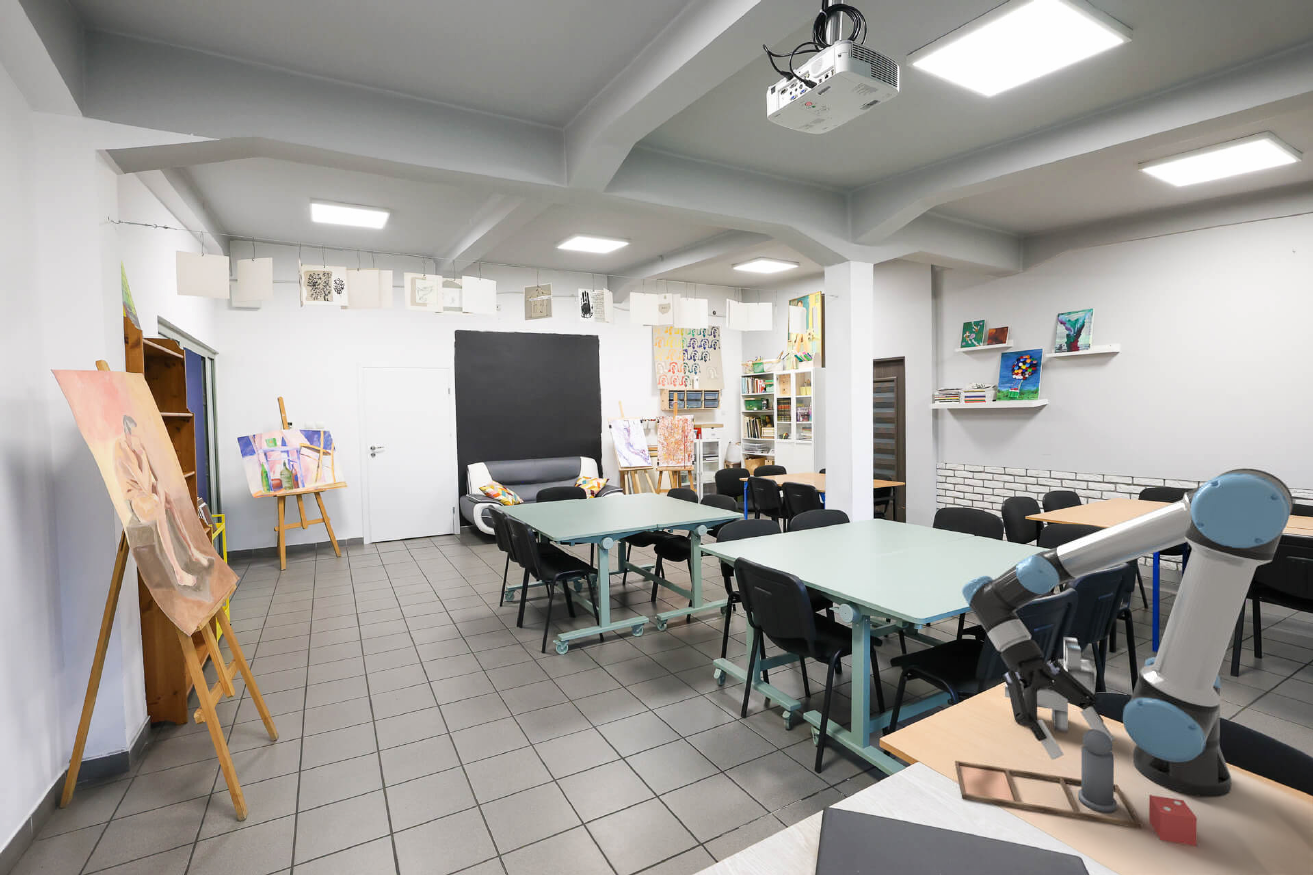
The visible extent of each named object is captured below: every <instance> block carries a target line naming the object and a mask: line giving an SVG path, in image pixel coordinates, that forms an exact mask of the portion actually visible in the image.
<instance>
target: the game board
mask: <svg viewBox="0 0 1313 875" xmlns="http://www.w3.org/2000/svg"><path fill="white" fill-rule="evenodd" d="M954 766H955V771H956V774H957V780H958V783H959V784H958V785H959V789H960V795H961V798H962V799H963V800H964V799H965V800H968V801H969V800H970V801H975V802H981V803H988V804H993V805H999V806H1006V807H1012V808H1015V809H1016V808H1017V809H1024V810H1030V811H1035V812H1036V811H1037V812H1042V813H1046V814H1047V813H1048V814H1054V815H1059V816H1065V817H1072V818H1078V819H1083V820H1089V821H1095V822H1101V823H1106V824H1113V825H1120V826H1124V827H1131V828H1137V829H1142V823H1141V821H1140V819H1139V817H1138V816H1137V815H1136V813H1135V810H1133V808H1132V806H1131V805H1130V803H1129V801H1128V800H1127V798H1126V797H1125V795H1124V793H1123V792H1122V790H1121V789H1120V786H1119V785H1118V784H1115V783H1114V791H1115V793H1116V794H1117V796H1118V798H1119V800H1120V801H1121V803H1122V804H1123V806H1124V808H1125V810H1126V812H1127V813H1128V815H1129V816H1130V818H1131V819H1132V820H1131V819H1124V818H1118V817H1113V816H1112V817H1111V816H1105V815H1100V814H1096V813H1095V814H1093V813H1088V812H1081V811H1079V808H1078V806H1077V805H1076V802H1075V800H1074V798H1073V796H1072V794H1071V792H1070V790H1069V788H1068V786H1067V784H1072V785H1073V784H1074V785H1080V786H1081V779H1080V778H1074V777H1068V776H1061V775H1054V774H1053V775H1052V774H1049V773H1048V774H1047V773H1041V772H1034V771H1028V770H1027V771H1026V770H1020V769H1015V768H1014V769H1013V768H1008V767H1000V766H995V765H994V766H993V765H988V764H979V763H974V762H973V763H972V762H968V761H967V762H965V761H960V760H954ZM1011 775H1014V776H1020V777H1025V778H1026V777H1027V778H1033V779H1041V780H1045V781H1046V780H1048V781H1052V782H1053V781H1054V782H1059V783H1060V786H1061V788H1062V790H1063V792H1064V794H1065V796H1066V799H1067V800H1068V803H1069V805H1070V807H1071V809H1072V810H1070V809H1063V808H1057V807H1051V806H1046V805H1045V806H1044V805H1038V804H1033V803H1027V802H1021V801H1020V799H1019V796H1018V793H1017V790H1016V787H1015V785H1014V782H1013V779H1012V776H1011ZM1066 783H1067V784H1066Z"/></svg>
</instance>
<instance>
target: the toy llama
mask: <svg viewBox="0 0 1313 875" xmlns="http://www.w3.org/2000/svg"><path fill="white" fill-rule="evenodd" d="M1078 642H1079V641H1078V639H1077V638H1076V637H1068V636H1063V668H1064V669H1065V670H1066V671H1067V672H1068V673H1069V674H1071V675H1072V676H1073V677H1074V678H1075V679H1076V680H1078V681H1079V682H1080V683H1081V684H1082V685H1083V686H1085V687H1086V688H1087V689H1088V690H1089V691H1091V692H1092V693H1093V694H1094V695H1095V672H1094V669H1093V666H1092V665H1091V662H1090V660H1087V659H1082V649H1081V647H1080V645H1079V643H1078ZM1020 684H1021V688H1022V682H1020ZM1004 696H1005V698H1007V699H1008V698H1009V699H1010V695H1009V690H1008V686H1007V684H1006V682H1004ZM1023 696H1024V693H1023ZM1087 698H1089V697H1087ZM1068 703H1071V702H1070V701H1069V700H1067V699H1066V698H1064V697H1063V696H1061V695H1060V694H1058V693H1057V692H1055V691H1053V690H1049V689H1048V688H1047V689H1045V690H1039V691H1037V708H1042V709H1048V710H1051V719H1052V720H1051V721H1053V727H1054V731H1055V732H1060V733H1067V734H1068V732H1069V717H1068V716H1069V709H1068V708H1069V707H1068V706H1069V704H1068ZM1082 703H1083V702H1082ZM1017 725H1022V723H1017ZM1022 726H1023V725H1022ZM1026 727H1029V726H1028V725H1027V726H1026Z"/></svg>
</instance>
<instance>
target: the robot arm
mask: <svg viewBox="0 0 1313 875" xmlns="http://www.w3.org/2000/svg"><path fill="white" fill-rule="evenodd" d="M1293 507H1294V499H1293V495H1292V492H1291V491H1290V488H1289V487H1288V485H1287V484H1286V483H1285V482H1283V480H1282V479H1280V478H1279V477H1277V476H1276V475H1274V474H1271V473H1270V472H1268V471H1264V470H1261V469H1256V468H1236V469H1231V470H1228V471H1226V472H1225V471H1224V472H1223V473H1221V474H1219V475H1217V476H1215V477H1213V478H1211V479H1209V480H1208V481H1206V482H1205V483H1203V484H1202V485H1200V486H1199V487H1195V488H1194V489H1191V490H1189V491H1186V492H1184V494H1183V498H1182V499H1181V500H1178V501H1175V502H1172V503H1170V504H1167V505H1165V506H1162V507H1159V508H1157V509H1154V510H1151V511H1148V512H1145V513H1144V514H1140V515H1138V516H1136V517H1132V518H1130V519H1128V520H1125V521H1122V522H1119V523H1117V524H1113V525H1112V526H1109V527H1106V528H1104V529H1101V530H1098V531H1096V532H1093V533H1090V534H1087V535H1084V536H1082V537H1080V538H1077V539H1074V540H1072V541H1070V542H1067V543H1064V544H1061V545H1059V546H1058V547H1053V548H1051V549H1048V550H1043V551H1039V552H1037V553H1035V554H1032V555H1029V556H1028V557H1026V558H1023V559H1022V560H1020V561H1019V562H1017V564H1015V565H1014V566H1012V567H1011V568H1009V569H1008V570H1006V571H1005V572H1004V573H1002V574H1001V575H999V576H998V577H996V578H995V579H993V578H992V577H991V576H989V575H981V576H979V577H976V578H974V579H973V580H970V581H968V582H967V583H965V584H964V585H963V587H962V590H961V593H962V595H963V597H964V600H965V601H966V603H967V605H968V607H969V609H970V610H971V611H972V612H973V614H974V615H975V617H976V618H977V620H978V622H979V623H980V625H981V626H982V628H983V629H984V631H985V633H986V635H987V636H988V638H989V639H990V641H991V643H992V644H993V646H994V647H995V649H996V650H997V651H998V652H999V653H1000V657H1001V659H1002V661H1003V662H1004V663H1005V665H1006V668H1008V670H1009V671H1008V672H1006V673H1005V674H1003V676H1002V677H1003V680H1004V683H1006V684H1007V686H1008V690H1009V695H1010V698H1009V699H1010V704H1011V708H1012V714H1013V716H1014V721H1015V722H1016V723H1017V724H1018V723H1022V726H1023V727H1028V728H1029V729H1030V731H1031V733H1032V734H1033V736H1034V738H1035V739H1036V740H1037V741H1038V742H1040V743H1041V745H1042V746H1043V748H1044V750H1045V751H1046V753H1047V754H1048V756H1049V759H1051V761H1052V760H1056V759H1058V758H1060V757H1062V756H1064V755H1065V754H1064V752H1063V750H1062V749H1061V748H1060V746H1059V744H1058V742H1057V741H1056V739H1055V738H1054V737H1053V735H1052V733H1051V732H1050V730H1049V729H1048V726H1047V725H1046V724H1045V722H1044V720H1043V719H1039V720H1038V707H1037V691H1039V690H1045V689H1047V688H1048V689H1049V690H1053V691H1055V692H1057V693H1058V694H1060V695H1061V696H1063V697H1064V698H1066V699H1067V700H1069V701H1070V702H1069V701H1068V702H1069V703H1071V704H1074V706H1076V707H1078V708H1079V709H1081V711H1079V712H1080V714H1081V715H1082V717H1083V719H1084V720H1085V721H1086V723H1087V724H1088V726H1089V727H1090V730H1092V729H1096V730H1100V731H1102V732H1104V733H1105V734H1107V735H1108V737H1109V738H1110V739H1111V742H1114V741H1115V740H1116V739H1115V737H1114V736H1113V735H1112V733H1111V732H1110V730H1109V729H1108V727H1107V726H1106V724H1105V722H1104V719H1103V718H1102V716H1101V715H1100V713H1099V712H1098V711H1097V709H1096V708H1095V706H1096V705H1097V701H1098V700H1099V699H1098V697H1097V696H1096V695H1095V693H1094V694H1093V693H1092V692H1091V691H1089V690H1088V689H1087V688H1086V687H1085V686H1083V685H1082V684H1081V683H1080V682H1079V681H1078V680H1076V679H1075V678H1074V677H1073V676H1072V675H1071V674H1069V673H1068V672H1067V671H1066V670H1065V669H1064V665H1062V664H1061V663H1060V661H1058V660H1054V661H1052V662H1050V663H1047V662H1046V661H1045V660H1044V653H1043V651H1042V649H1041V647H1040V646H1039V645H1038V644H1037V642H1036V641H1035V640H1033V639H1032V635H1031V633H1030V631H1029V630H1028V629H1027V627H1026V626H1025V624H1024V623H1023V622H1022V621H1021V619H1020V618H1019V616H1018V614H1017V612H1016V611H1018V610H1021V608H1022V607H1024V606H1026V605H1029V603H1031V602H1033V601H1035V600H1037V599H1038V598H1039V597H1041V596H1043V595H1045V594H1048V593H1049V592H1050V591H1051V590H1052V589H1053V588H1055V587H1056V586H1059V585H1062V584H1064V583H1067V582H1070V581H1074V580H1075V579H1078V578H1081V577H1083V576H1087V575H1090V574H1093V573H1096V572H1099V571H1103V570H1105V569H1108V568H1112V567H1114V566H1118V565H1121V564H1124V563H1126V562H1130V561H1133V560H1135V559H1136V560H1137V559H1138V558H1142V557H1145V556H1148V555H1151V554H1155V553H1158V552H1159V551H1163V550H1166V549H1169V548H1172V547H1175V546H1177V545H1181V544H1184V543H1188V545H1189V546H1190V548H1191V552H1190V554H1189V558H1188V561H1187V563H1186V567H1185V569H1184V573H1183V575H1182V578H1181V582H1180V585H1179V587H1178V590H1177V593H1176V597H1175V599H1174V603H1173V605H1172V609H1171V612H1170V615H1169V618H1168V619H1167V620H1168V621H1167V623H1166V627H1165V629H1164V633H1163V636H1162V638H1161V642H1160V644H1159V647H1158V650H1157V654H1156V656H1152V657H1148V658H1147V659H1146V660H1145V662H1144V666H1143V667H1142V668H1140V671H1139V673H1138V674H1139V675H1138V677H1137V680H1136V683H1135V687H1134V690H1133V692H1132V695H1131V697H1130V700H1129V701H1128V702H1127V703H1126V704H1125V706H1124V707H1123V712H1122V723H1123V727H1124V729H1125V731H1126V733H1127V735H1128V736H1129V738H1130V739H1131V740H1132V741H1133V742H1134V744H1136V746H1135V748H1134V749H1133V764H1134V767H1135V768H1136V770H1137V771H1139V773H1141V774H1142V775H1143V776H1145V777H1146V778H1147V779H1149V780H1150V781H1153V782H1154V783H1157V784H1158V785H1161V786H1164V787H1165V788H1168V789H1171V790H1172V791H1173V790H1174V791H1176V792H1179V793H1183V794H1186V795H1187V794H1188V795H1191V796H1197V797H1205V798H1219V797H1222V796H1226V795H1227V794H1229V793H1230V792H1231V791H1232V777H1231V776H1232V775H1231V773H1230V771H1229V768H1228V766H1227V763H1226V760H1225V757H1224V755H1223V753H1222V750H1221V747H1220V737H1221V735H1220V731H1221V730H1220V729H1221V727H1220V724H1221V723H1220V722H1221V720H1220V719H1221V718H1220V712H1221V708H1220V706H1221V694H1220V693H1221V690H1222V686H1221V680H1220V679H1221V678H1220V676H1219V671H1220V669H1221V666H1222V664H1223V661H1224V657H1225V655H1226V652H1227V650H1228V647H1229V644H1230V641H1231V638H1232V636H1233V633H1234V630H1235V628H1236V625H1237V622H1238V619H1239V616H1240V613H1241V611H1242V608H1243V605H1244V602H1245V599H1246V597H1247V594H1248V592H1249V589H1250V585H1251V583H1252V580H1253V577H1254V575H1255V572H1256V569H1257V567H1258V566H1261V565H1265V564H1268V563H1271V562H1273V559H1274V556H1275V554H1276V552H1277V548H1278V546H1279V543H1280V540H1281V538H1282V534H1283V532H1284V530H1285V528H1286V526H1287V524H1288V521H1289V518H1290V515H1291V514H1292V511H1293ZM1020 682H1022V688H1021V684H1020ZM1023 693H1024V696H1023ZM1087 697H1089V698H1087ZM1082 702H1083V703H1082ZM1027 725H1028V726H1027Z"/></svg>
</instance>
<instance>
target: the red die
mask: <svg viewBox="0 0 1313 875" xmlns="http://www.w3.org/2000/svg"><path fill="white" fill-rule="evenodd" d="M1148 800H1149V802H1148V804H1149V807H1148V809H1149V810H1148V811H1149V813H1148V814H1149V815H1148V816H1149V817H1148V821H1149V824H1150V825H1151V827H1152V828H1153V830H1154V831H1155V834H1156V835H1157V836H1158V838H1159V839H1160V841H1163V842H1164V841H1165V842H1171V843H1175V844H1181V845H1188V846H1193V847H1197V840H1198V838H1197V836H1198V835H1197V833H1198V831H1197V828H1198V827H1197V826H1198V820H1197V819H1198V818H1197V816H1196V815H1195V814H1194V812H1193V811H1192V809H1191V808H1190V807H1189V805H1188V804H1187V803H1186V802H1185V801H1184V799H1176V798H1171V797H1165V796H1159V795H1158V796H1157V795H1151V794H1149V798H1148Z"/></svg>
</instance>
